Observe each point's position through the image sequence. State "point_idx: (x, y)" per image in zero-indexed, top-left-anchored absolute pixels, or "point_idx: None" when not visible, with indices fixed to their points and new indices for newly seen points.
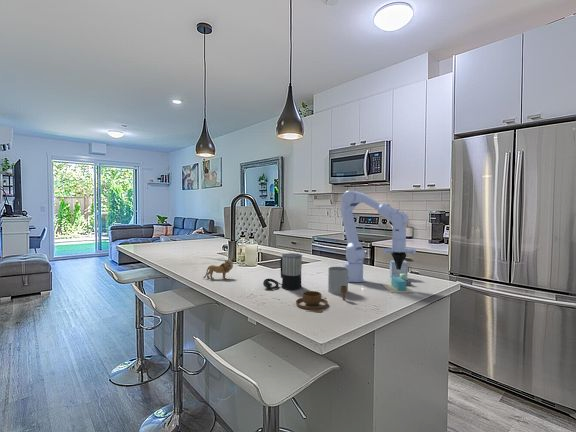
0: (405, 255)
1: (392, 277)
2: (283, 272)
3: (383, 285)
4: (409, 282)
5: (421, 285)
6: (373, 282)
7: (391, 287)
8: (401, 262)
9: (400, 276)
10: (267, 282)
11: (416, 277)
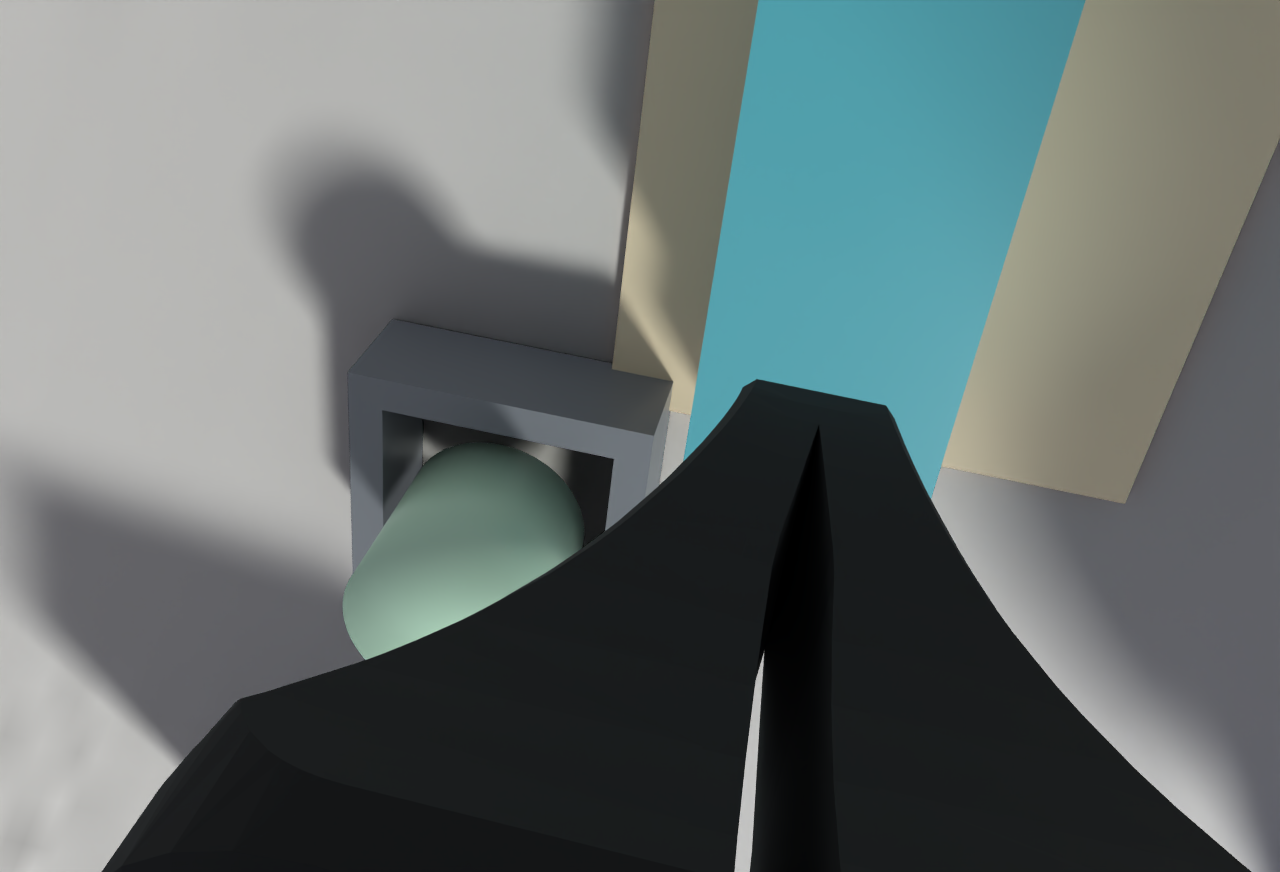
0: (254, 769)
1: (942, 458)
2: None
3: (1147, 432)
4: (399, 361)
5: (133, 275)
6: (1176, 736)
7: (1057, 200)
8: (697, 540)
9: None
10: None
11: (57, 794)
